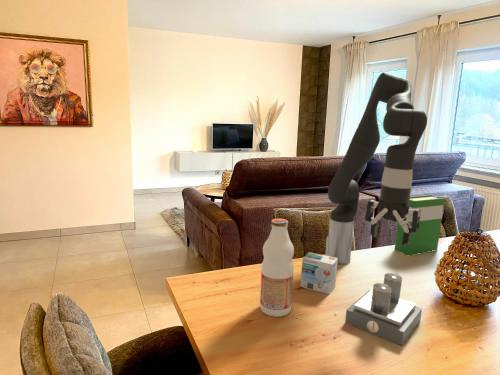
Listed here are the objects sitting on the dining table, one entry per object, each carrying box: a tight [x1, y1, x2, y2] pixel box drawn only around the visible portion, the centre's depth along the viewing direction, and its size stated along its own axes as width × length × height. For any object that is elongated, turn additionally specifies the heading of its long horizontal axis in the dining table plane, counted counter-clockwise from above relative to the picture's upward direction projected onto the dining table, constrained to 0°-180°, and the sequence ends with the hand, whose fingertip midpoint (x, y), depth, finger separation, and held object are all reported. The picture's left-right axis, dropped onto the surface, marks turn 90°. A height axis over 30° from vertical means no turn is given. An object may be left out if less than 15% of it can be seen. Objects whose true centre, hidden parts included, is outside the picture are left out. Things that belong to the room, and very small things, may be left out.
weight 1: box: [371, 282, 392, 315], centre depth 103 cm, size 5×5×7 cm
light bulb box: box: [300, 251, 338, 295], centre depth 128 cm, size 11×7×11 cm, turn 62°
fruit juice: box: [259, 218, 295, 318], centre depth 110 cm, size 9×9×28 cm
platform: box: [353, 288, 417, 326], centre depth 108 cm, size 13×13×1 cm
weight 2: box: [383, 272, 403, 303], centre depth 110 cm, size 5×5×7 cm
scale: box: [344, 290, 423, 346], centre depth 108 cm, size 16×16×4 cm
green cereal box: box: [394, 194, 446, 256], centre depth 164 cm, size 18×7×24 cm, turn 114°
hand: (388, 240), depth 105 cm, fingers open, 8 cm apart
